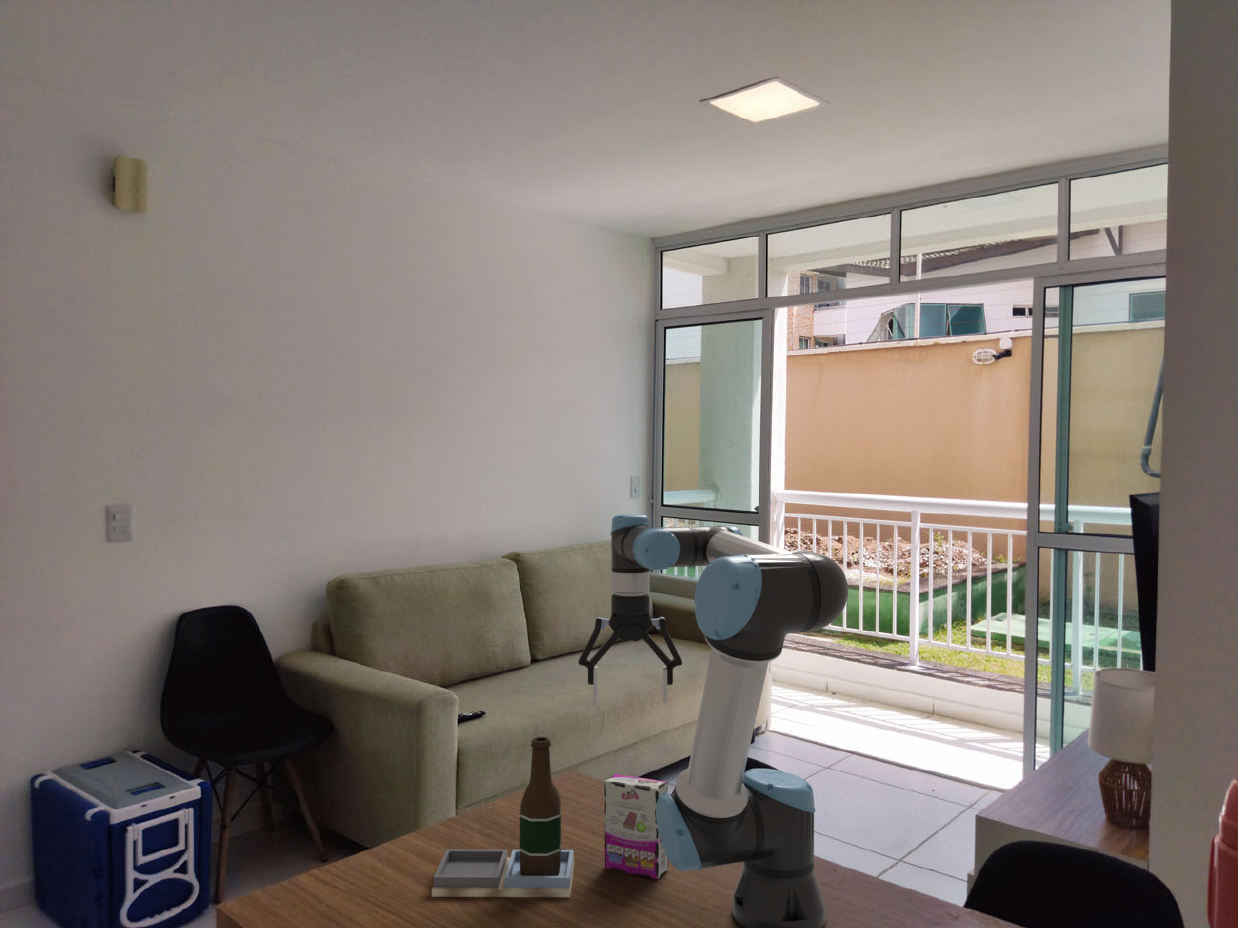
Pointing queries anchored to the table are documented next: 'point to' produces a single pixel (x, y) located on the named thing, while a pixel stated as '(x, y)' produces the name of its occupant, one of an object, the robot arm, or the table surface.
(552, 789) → the beer bottle
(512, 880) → the light blue shallow tray
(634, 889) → the table surface
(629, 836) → the candy bar box
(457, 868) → the tray
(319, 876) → the table surface
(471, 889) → the board
